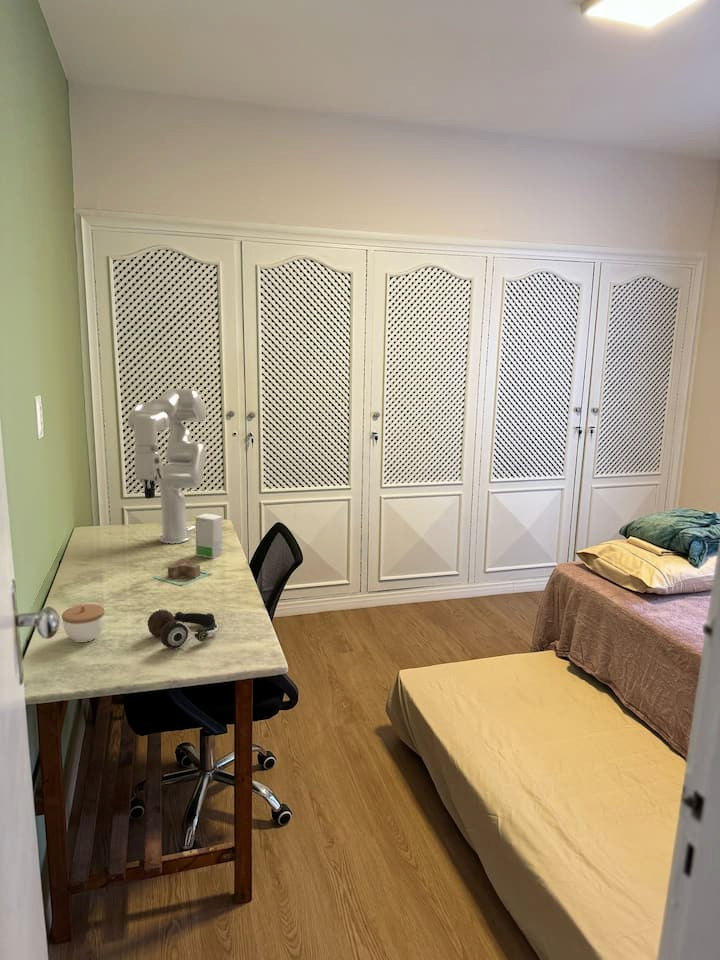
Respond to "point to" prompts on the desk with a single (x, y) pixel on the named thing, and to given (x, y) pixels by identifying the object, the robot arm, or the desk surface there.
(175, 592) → the desk surface
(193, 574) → the tee block
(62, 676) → the desk surface
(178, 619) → the headset
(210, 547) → the skincare box
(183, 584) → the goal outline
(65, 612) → the lidded jar
